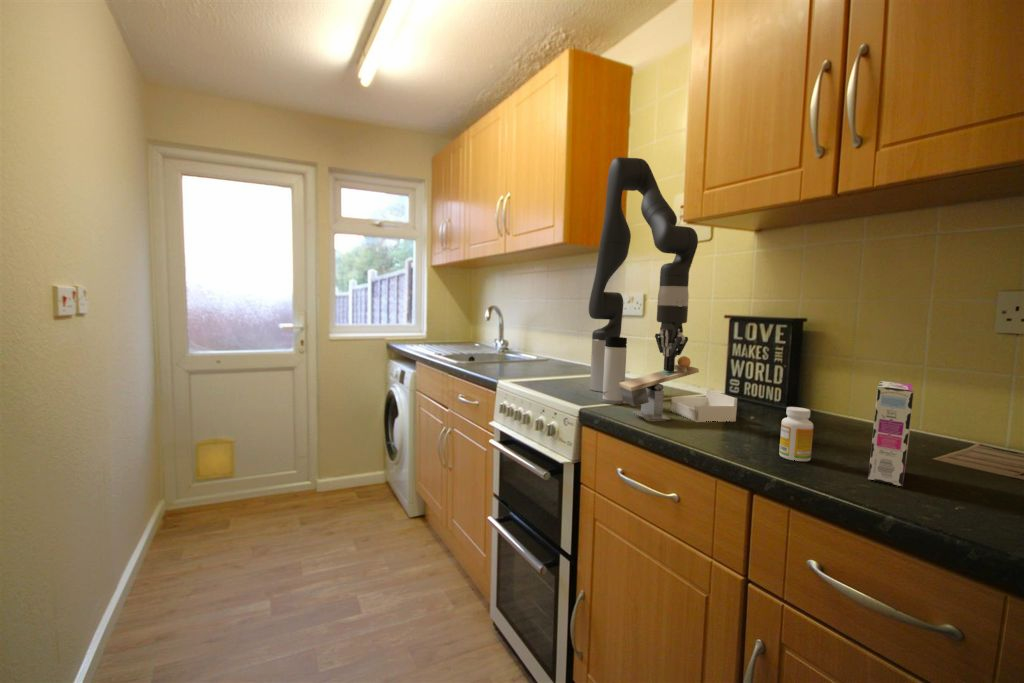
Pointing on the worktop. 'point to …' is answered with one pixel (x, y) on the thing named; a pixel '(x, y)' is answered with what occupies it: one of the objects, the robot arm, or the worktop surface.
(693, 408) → the tray
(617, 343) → the travel mug
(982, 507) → the worktop surface
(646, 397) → the lever
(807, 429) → the supplement bottle
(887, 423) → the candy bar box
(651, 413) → the fulcrum
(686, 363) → the ball
